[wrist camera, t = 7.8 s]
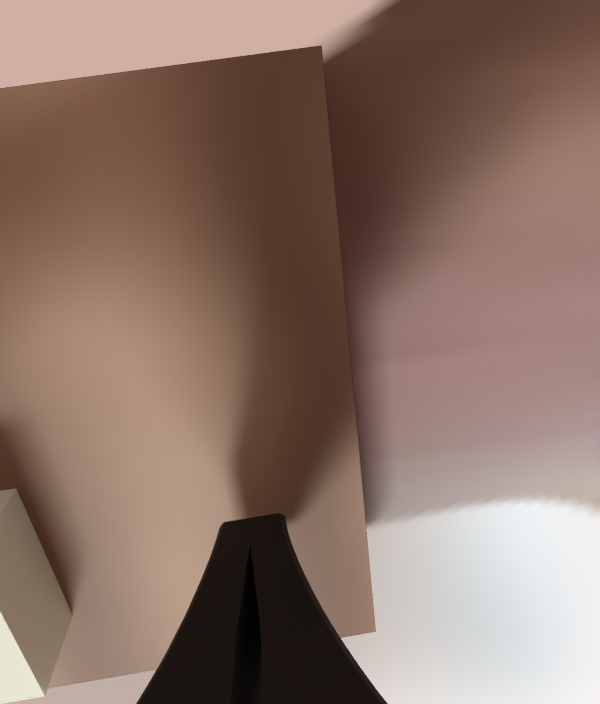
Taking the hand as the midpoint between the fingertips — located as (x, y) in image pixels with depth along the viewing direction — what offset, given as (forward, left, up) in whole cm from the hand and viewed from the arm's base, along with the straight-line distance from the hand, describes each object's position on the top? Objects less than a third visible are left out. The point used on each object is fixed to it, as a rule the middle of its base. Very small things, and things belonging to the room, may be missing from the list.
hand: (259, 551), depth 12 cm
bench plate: (+4, -3, -3) cm, 6 cm away
